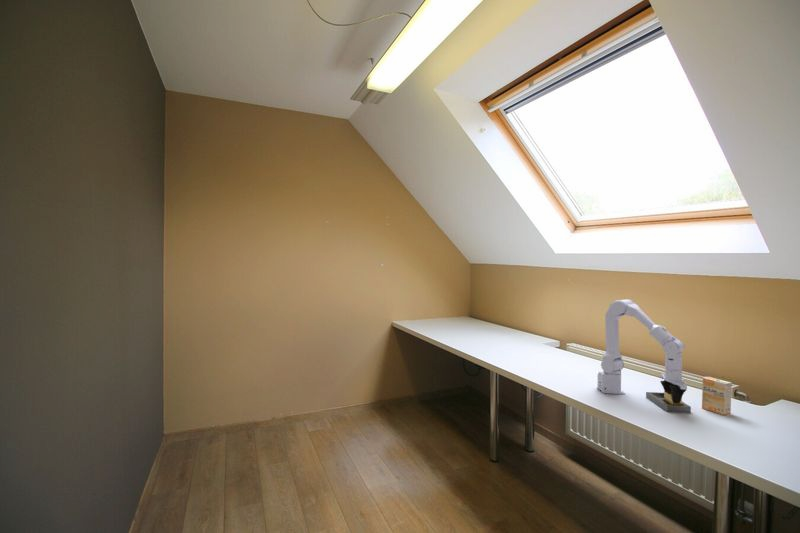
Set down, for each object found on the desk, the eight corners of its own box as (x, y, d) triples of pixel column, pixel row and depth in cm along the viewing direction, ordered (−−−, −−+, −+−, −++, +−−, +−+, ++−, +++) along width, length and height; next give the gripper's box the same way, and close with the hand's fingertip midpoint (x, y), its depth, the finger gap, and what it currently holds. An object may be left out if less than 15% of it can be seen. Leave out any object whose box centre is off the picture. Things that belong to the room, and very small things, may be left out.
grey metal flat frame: (666, 411, 154) (667, 405, 154) (646, 397, 170) (646, 392, 170) (690, 412, 153) (690, 406, 153) (667, 398, 169) (667, 392, 169)
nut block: (670, 407, 156) (670, 394, 156) (664, 402, 160) (664, 391, 160) (681, 407, 156) (681, 395, 155) (675, 403, 160) (675, 391, 160)
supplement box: (701, 408, 158) (701, 377, 158) (708, 406, 160) (708, 376, 160) (724, 416, 150) (725, 383, 150) (731, 414, 152) (732, 381, 152)
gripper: (695, 374, 150) (694, 408, 150) (673, 364, 164) (672, 395, 165) (676, 373, 151) (675, 407, 151) (655, 363, 165) (655, 394, 165)
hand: (672, 400), depth 158 cm, fingers closed on nut block, 4 cm apart
